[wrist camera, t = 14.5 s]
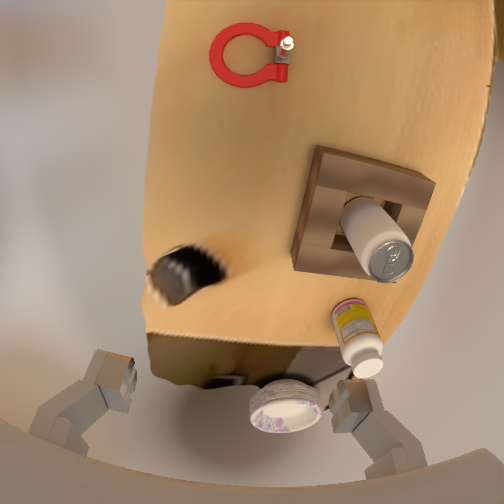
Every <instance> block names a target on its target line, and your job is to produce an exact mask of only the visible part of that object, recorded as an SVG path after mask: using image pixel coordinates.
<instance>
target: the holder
mask: <svg viewBox="0 0 504 504" xmlns="http://www.w3.org/2000/svg"><path fill="white" fill-rule="evenodd" d="M435 184H436V183H435V182H433V181H432V180H430V179H429V178H427V177H426V176H424V175H423V174H421V173H419V172H416V171H413V170H410V169H406V168H403V167H400V166H396V165H393V164H390V163H386V162H382V161H379V160H375V159H371V158H368V157H364V156H360V155H356V154H352V153H348V152H344V151H340V150H335V149H331V148H326V147H322V146H317V145H316V149H315V154H314V158H313V163H312V167H311V171H310V176H309V180H308V184H307V189H306V193H305V197H304V201H303V205H302V210H301V214H300V218H299V222H298V226H297V230H296V234H295V238H294V242H293V246H292V250H291V257H292V262H293V268H294V271H302V272H309V273H317V274H325V275H333V276H341V277H349V278H358V279H366V280H374V279H373V278H372V277H371V276H370V275H368V274H367V273H366V272H365V271H364V269H363V268H362V266H361V264H360V262H359V260H358V258H357V256H356V254H355V252H354V251H353V249H352V247H351V245H350V243H349V241H348V239H347V237H346V236H340V235H335V234H336V230H337V227H338V224H339V220H340V217H341V214H342V210H343V207H344V204H345V200H346V197H347V193H348V192H351V193H355V194H360V195H365V196H369V197H374V198H378V199H382V200H386V201H387V202H386V205H385V208H384V210H385V211H386V212H387V214H388V215H389V216H390V217H391V218H392V219H393V220H394V222H395V223H396V224H397V225H398V226H399V227H400V229H401V230H402V231H403V232H404V233H405V235H406V236H407V237H408V239H409V241H410V244H411V248H412V246H413V243H414V241H415V238H416V236H417V233H418V231H419V228H420V226H421V223H422V221H423V218H424V215H425V213H426V210H427V207H428V204H429V202H430V199H431V196H432V193H433V190H434V187H435ZM374 281H375V280H374ZM396 282H397V281H395V282H392V283H396Z"/></svg>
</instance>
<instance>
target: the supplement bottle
mask: <svg viewBox="0 0 504 504" xmlns="http://www.w3.org/2000/svg"><path fill="white" fill-rule="evenodd" d="M332 321H333V325H334V328H335V332H336V335H337V339H338V343H339V346H340V350H341V354H342V358H343V360H344V361H345V363H346V364H348V365H350V366H352V370H353V373H354V375H355V376H356V377H358V378H366V377H370V376H372V375H375V374H376V373H378V372H379V371H380V370H381V369H382V367H383V361H382V357H381V356H380V355H381V353H382V350H383V343H382V340H381V337H380V335H379V333H378V330H377V328H376V325H375V323H374V320H373V318H372V316H371V313H370V311H369V309H368V307H367V305H366V304H365V303H364V302H363V301H361V300H359V299H350V300H346V301H344V302H342V303H340V304H339V305H338V306H337V307H336V308H335V309H334V311H333V314H332Z"/></svg>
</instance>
